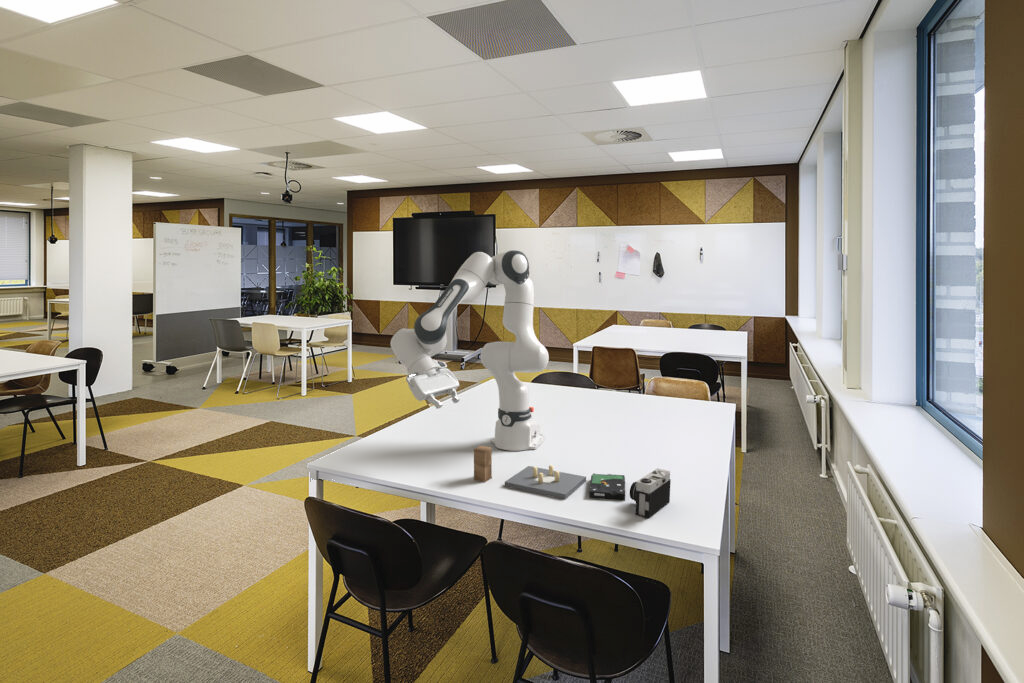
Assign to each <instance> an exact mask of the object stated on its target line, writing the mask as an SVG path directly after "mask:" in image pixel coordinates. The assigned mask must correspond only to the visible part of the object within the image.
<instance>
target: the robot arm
mask: <svg viewBox="0 0 1024 683" xmlns="http://www.w3.org/2000/svg"><path fill="white" fill-rule="evenodd" d="M529 263H530V262H529V258H528V257H527V255H526V254H525V253H524V252H523V251H520V250H514V249H513V250H507V251H504V252H501V253H498V254H496V255H493V256H492V257H491V256H490V255H489V254H487V253H485V252H483V251H476V252H473V253H472V254H471V255H470V256H469V257H468V258H467V259H466V260H465V261H464V262H463V264H461V265H460V267H459V269H458V270H457V272H456V273H455V274H454V277H453V278H452V280H451V282H450V283H449V284H448V286H447V287H446V288H445V289H444V291H442V294H441V295H440V296H438V298H437V300H436V301H435V302H434V304H433V305H432V306H431V307H430V308H428V309H427V310H425V311H424V312H422V313H421V314H419V315H418V316H417V318H416V319H415V321H414V325H413V328H401V329H399V330H397V331H396V332H394V334H393V336H392V337H391V339H390V348H391V350H392V352H393V353H394V355H395V357H396V359H397V360H398V361H399V362H400V364H402V365H403V366H404V367H405V369H406V372H407V373H408V374H407V375H406V377H405V381H406V382H407V385H408V387H409V388H408V389H409V390H410V392H411V393H412V396H413V397H414V398H415V399H416V400H417V401H419V402H421V401H426V400H427V402H428V403H429V404H431V405H433V406H434V407H435V408H436V409H438V410H439V409H441V408H442V407H443V404H444V403H442V402H441V400H438V399H436V397H440V396H443V395H446V394H448V395H449V396H451V401H452V402H453V404H456V403H459V402H460V400H461V399H460V398H459V396H458V394H457V389H458V388H459V387H460V381H459V380H458V378H457V377H456V375H455V374H454V373H453V372H452V371H451V370H450V368H447V367H448V365H447V363H446V362H444V361H440V360H436V359H433V358H432V357H435V356H437V355H438V354H440V353H442V352H443V351H444V350H445V348H446V347H447V344H448V337H447V336H448V334H447V326H448V325H447V324H448V320H449V318H450V317H451V315H452V313H454V311H455V309H456V308H457V307H458V305H459V304H460V303H461V302H462V303H465V304H466V303H468V304H469V303H473V302H474V301H476V300H477V299H478V298H479V296H480V295H481V294H482V293H483V291H484V289H485V288H486V287H487V285H489V286H500V285H503V287H504V290H505V297H504V302H503V303H504V304H503V305H504V306H503V312H502V313H503V315H502V325H503V327H504V328H505V329H506V330H507V331H508V332H510V333H512V334H513V335H514V336H515V341H492V342H487V343H486V344H484V346H483V347H482V349H481V352H480V361H481V364H482V365H483V367H484V368H485V369H486V370H488V372H489V373H490V374H491V375H492V376H493V378H494V380H495V382H496V385H497V389H498V400H499V403H498V405H499V407H498V408H497V418H498V419H497V420H496V421H495V428H494V438H492V439H491V443H493V444H494V447H496V448H497V449H500V450H505V451H512V452H513V451H516V452H518V451H526V450H537V449H538V448H539V447H540V446H541V445H542V444H543V442H544V441H545V440H546V438H547V437H546V435H544V434H541V433H540V432H541V431H540V430H541V429H540V428H541V427H540V424H539V422H537V421H536V420H535V419H533V418H532V413H534V411H535V408H534V406H530V389H529V387H528V386H527V384H526V383H525V382H523V381H521V380H520V379H519V378H518V377H517V376H516V374H515V373H528V374H532V373H537V372H539V373H540V372H543V371H544V370H545V369H547V366H548V364H549V360H550V356H549V352H548V349H547V348H546V347H545V345H544V344H542V343H541V342H540V340H539V339H538V338H537V336H536V332H535V331H534V330H535V329H534V310H535V309H534V307H535V306H534V305H535V289H534V288H535V287H534V282H533V280H532V279H530V278H529V276H530V264H529Z"/></svg>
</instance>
